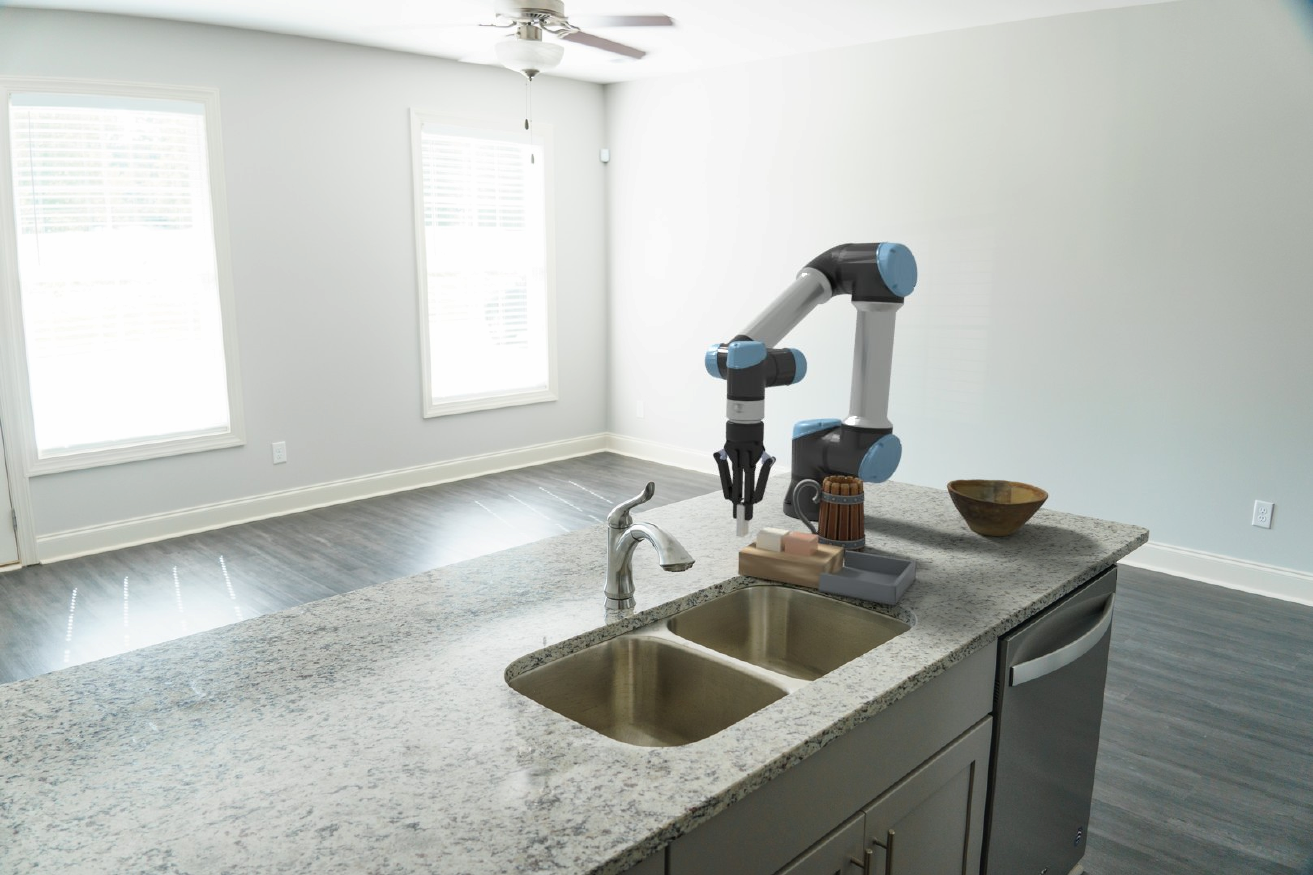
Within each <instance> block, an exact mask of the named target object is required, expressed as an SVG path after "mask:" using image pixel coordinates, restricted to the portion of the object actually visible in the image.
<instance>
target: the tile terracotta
mask: <svg viewBox="0 0 1313 875" xmlns="http://www.w3.org/2000/svg"><path fill="white" fill-rule="evenodd" d="M817 550H818V535H815V534H812V533H809V532H800V531H796V530H795V531H793V532H791V533H790V535H789V536H787V537H786V538H785V553H790V554H796V555H802V556H808V557H810V556H811V555H812V554H813V553H815V552H816V551H817Z"/></svg>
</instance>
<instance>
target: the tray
mask: <svg viewBox="0 0 1313 875" xmlns="http://www.w3.org/2000/svg"><path fill="white" fill-rule="evenodd" d="M917 562H918V561H917V560H916V561H915V560H910V559H905V558H904V559H903V558H896V557H891V556H884V555H878V554H871V553H865V552H862V551H861V552H854V551H848V550H846V551H845V555H843V567H842V568H841V569H840V570H839V571H838V572H837V573H836V574H835V575H833V574H827V573H822V572H821V573H820V578H819V589H818V592H819V593H825V594H830V595H835V596H840V597H846V598H852V599H856V600H862V601H866V602H873V603H878V604H883V605H889V606H896V604H897V603H898V601H900V599H902V596H904V594H905V593H906V591H908V589H909V588H910V586H911V585H912V584H913V583H914V582H915V581H916V579H917V578H916V575H917Z"/></svg>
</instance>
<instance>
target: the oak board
mask: <svg viewBox="0 0 1313 875" xmlns="http://www.w3.org/2000/svg"><path fill="white" fill-rule="evenodd" d="M844 556H845V555H844V547H838V546H832V545H826V544H819V543H818V550H817V551H816V552H815V553H813V554H812V555H811V556H810V557H808V556H802V555H796V554H790V553H785V549H783V550H782V551H780V552H778V551H772V550H766V549H760V548H756V540H754V541H753V542H751V543H749V544H748V545H747V546H746V547H744V548H742V549H741V550H740V551H738V568H737V569H738V572H737V573H738V575H743V576H748V577H749V576H750V577H755V578H759V579H765V580H770V581H775V582H781V583H787V584H790V585H791V584H792V585H797V586H802V587H807V588H808V587H809V588H814V589H818V590H819V578H820V573H821V572H822V573H827V574H833V575H835V574H836V573H837V572H838V571H839V570H840V569H841V568H842V567H844Z"/></svg>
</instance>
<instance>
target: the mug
mask: <svg viewBox="0 0 1313 875" xmlns="http://www.w3.org/2000/svg"><path fill="white" fill-rule="evenodd" d="M807 485H810V486H813V487H815V488H816V489H817V494H816V496H815V497H814V498H813V501H814V502H815V503H816V504H817V503H818V502H819V501H820V499H821V505H820V514H819V520H818V521H817V522H818V524H817V529H816V527H815V526H814V524H813V523H812V522H811V520H808V519H807V518H806V517H805V516H804V515H803V514H802V512H801V510H800V508H799V503H798V495H799V492H800V490H801V489H802V488H803V487H804V486H807ZM793 501H794V507H795V511H796V513H797V515H798V517H799V518H798V519H799V521H801V522H802V524H804V525H805V526H806V527H807V528H808V529H809V531H810V532H811V534H815V535H818V543H819V544H826V545H832V546H838V547H844V555H843V556H845V551H846V550H848V551H854V552H861V553H862V552H863V551H864V550H865V548H866V534H865V491H864V482H862V480H860V479H859V478H853V477H850V476H847V478H846V477H845V476H838V477H836V476H831V477H826V478H825V479H824V481H823V488H822V490H821V487H820V485H819V484H818V483H817V482H816V481H814V480H811V479H806V480H802V481H801V482H799V483H798V484H797V486H796V487H795V490H794V493H793Z"/></svg>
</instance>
